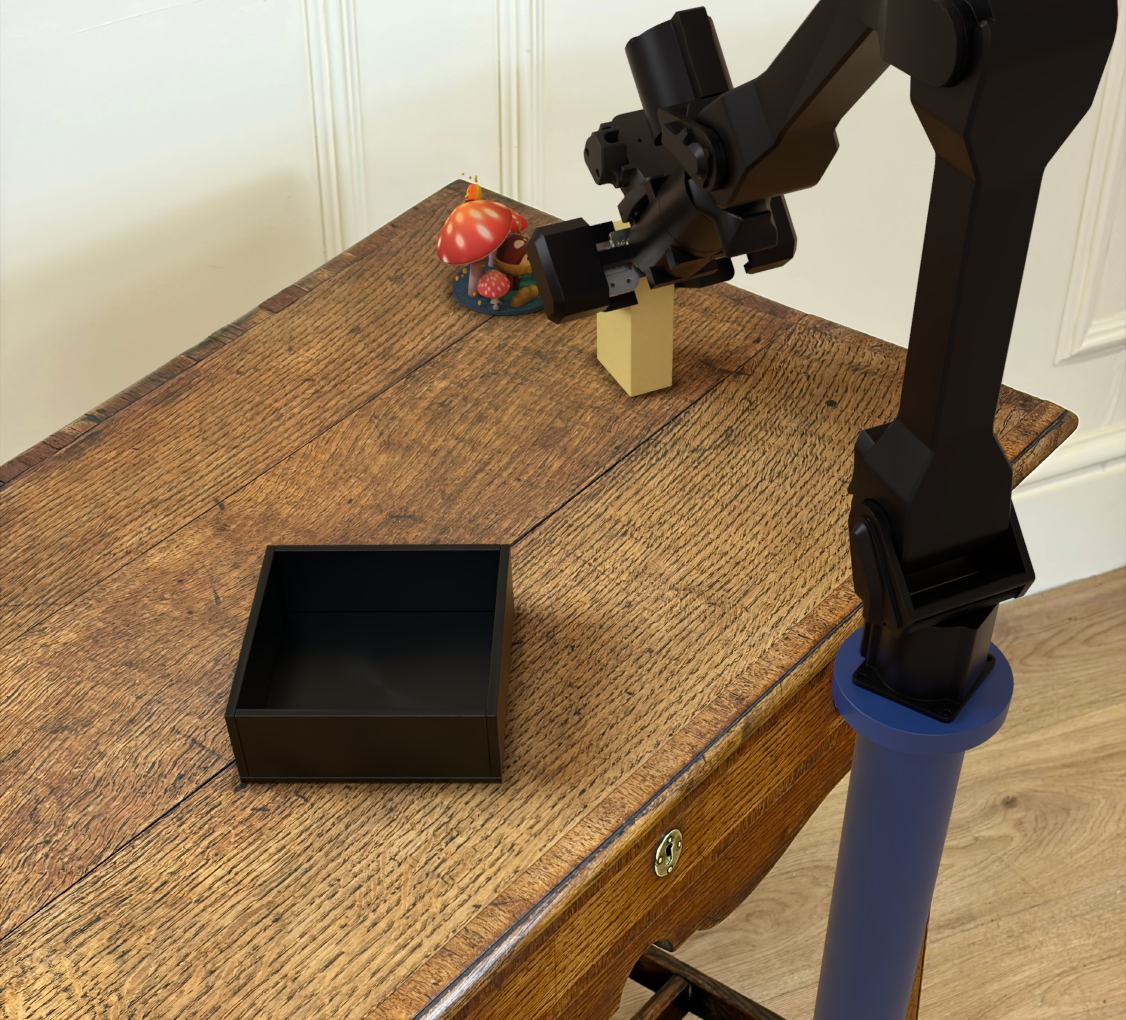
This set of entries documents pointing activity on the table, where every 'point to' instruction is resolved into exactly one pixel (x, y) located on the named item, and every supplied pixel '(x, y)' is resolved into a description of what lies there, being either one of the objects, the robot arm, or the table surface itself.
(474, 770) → the bin
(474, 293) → the figurine
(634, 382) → the block
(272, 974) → the table surface
